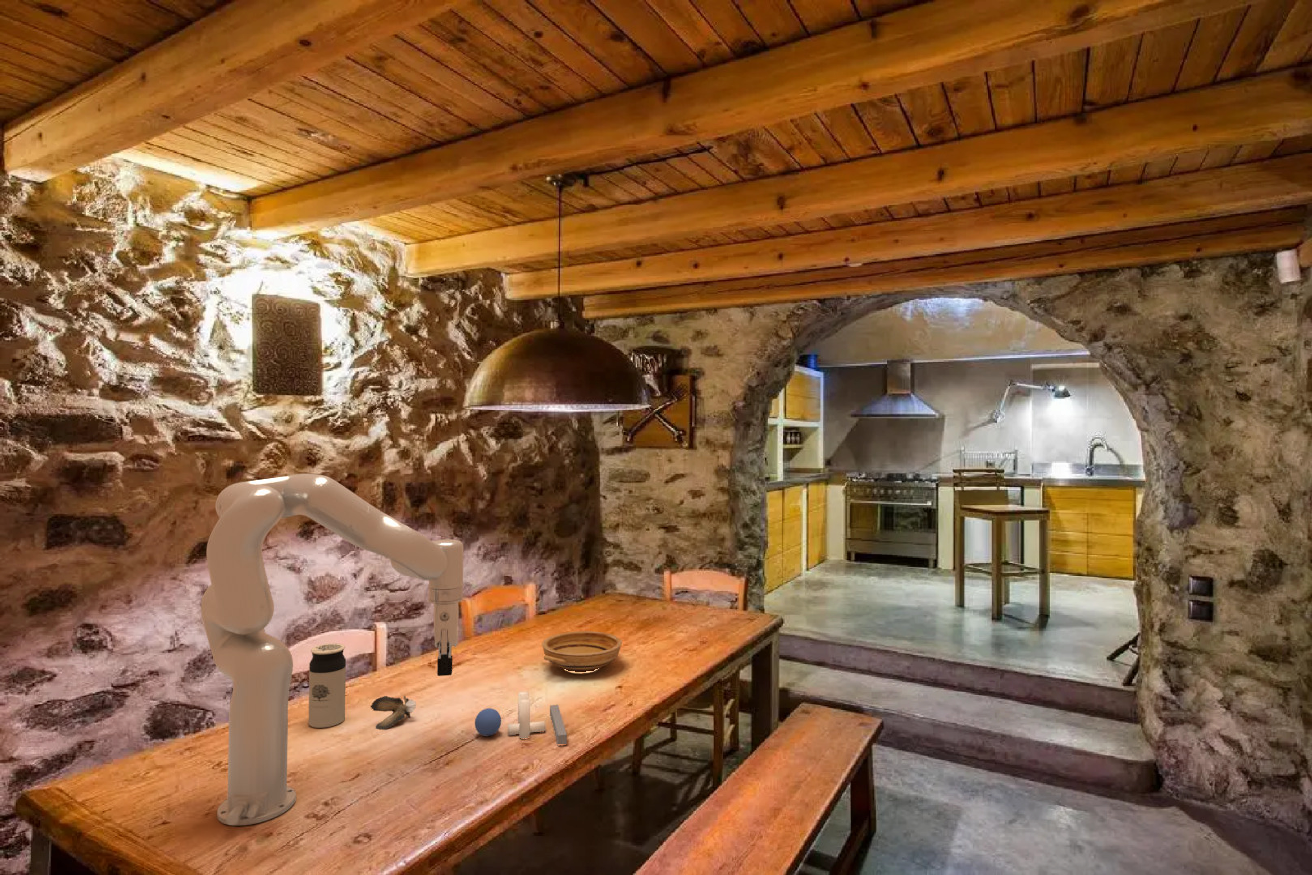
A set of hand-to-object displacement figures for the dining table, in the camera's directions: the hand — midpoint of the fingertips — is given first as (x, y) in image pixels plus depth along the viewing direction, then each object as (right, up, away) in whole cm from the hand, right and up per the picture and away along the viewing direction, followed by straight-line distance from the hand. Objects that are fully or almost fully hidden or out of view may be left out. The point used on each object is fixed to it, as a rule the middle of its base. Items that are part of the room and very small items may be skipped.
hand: (444, 674), depth 156 cm
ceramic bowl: (+26, -16, +51) cm, 59 cm away
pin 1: (+17, -15, +7) cm, 24 cm away
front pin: (+14, -14, +3) cm, 20 cm away
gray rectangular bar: (+25, -15, +6) cm, 30 cm away
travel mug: (-32, -15, +9) cm, 36 cm away
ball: (+9, -12, +3) cm, 16 cm away
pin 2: (+18, -15, +2) cm, 24 cm away
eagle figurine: (-15, -15, +10) cm, 24 cm away
